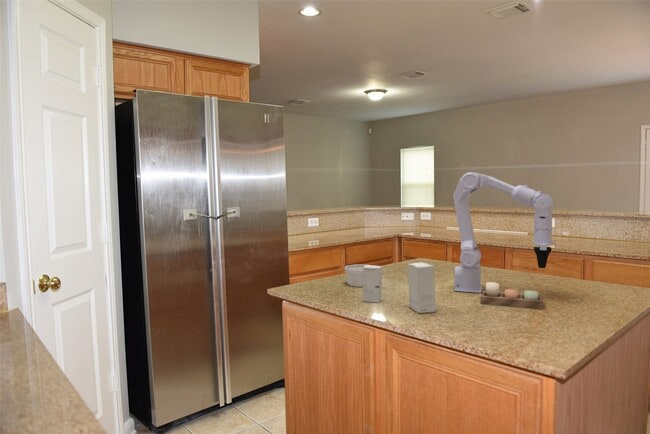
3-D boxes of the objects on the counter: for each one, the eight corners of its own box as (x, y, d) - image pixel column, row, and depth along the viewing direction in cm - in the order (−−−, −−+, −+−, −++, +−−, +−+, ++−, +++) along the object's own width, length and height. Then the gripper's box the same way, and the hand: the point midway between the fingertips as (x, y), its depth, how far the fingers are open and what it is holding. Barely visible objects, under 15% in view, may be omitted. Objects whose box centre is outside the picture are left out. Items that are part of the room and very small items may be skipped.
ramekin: (377, 280, 191) (377, 264, 190) (377, 288, 178) (377, 270, 177) (345, 280, 192) (345, 264, 191) (343, 287, 179) (343, 270, 178)
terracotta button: (504, 303, 152) (504, 291, 152) (504, 300, 156) (504, 288, 156) (517, 304, 151) (518, 292, 150) (518, 301, 154) (518, 289, 154)
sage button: (523, 304, 150) (524, 292, 150) (523, 301, 154) (524, 290, 153) (538, 306, 148) (538, 294, 148) (537, 302, 152) (537, 291, 152)
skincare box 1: (362, 301, 158) (362, 267, 157) (365, 298, 162) (364, 264, 161) (380, 302, 156) (379, 267, 155) (382, 299, 160) (382, 265, 159)
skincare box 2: (435, 312, 144) (436, 265, 143) (418, 313, 143) (418, 266, 141) (424, 305, 152) (424, 261, 151) (407, 306, 151) (407, 262, 150)
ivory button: (485, 296, 154) (485, 284, 154) (486, 293, 158) (486, 281, 158) (498, 297, 153) (498, 285, 152) (499, 294, 157) (499, 282, 156)
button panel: (480, 303, 153) (480, 296, 153) (482, 297, 161) (482, 290, 161) (543, 309, 145) (543, 301, 145) (542, 302, 154) (542, 295, 153)
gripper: (557, 231, 150) (556, 272, 151) (554, 227, 164) (553, 264, 165) (533, 231, 153) (532, 271, 154) (532, 226, 166) (531, 263, 168)
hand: (541, 267), depth 160 cm, fingers closed
